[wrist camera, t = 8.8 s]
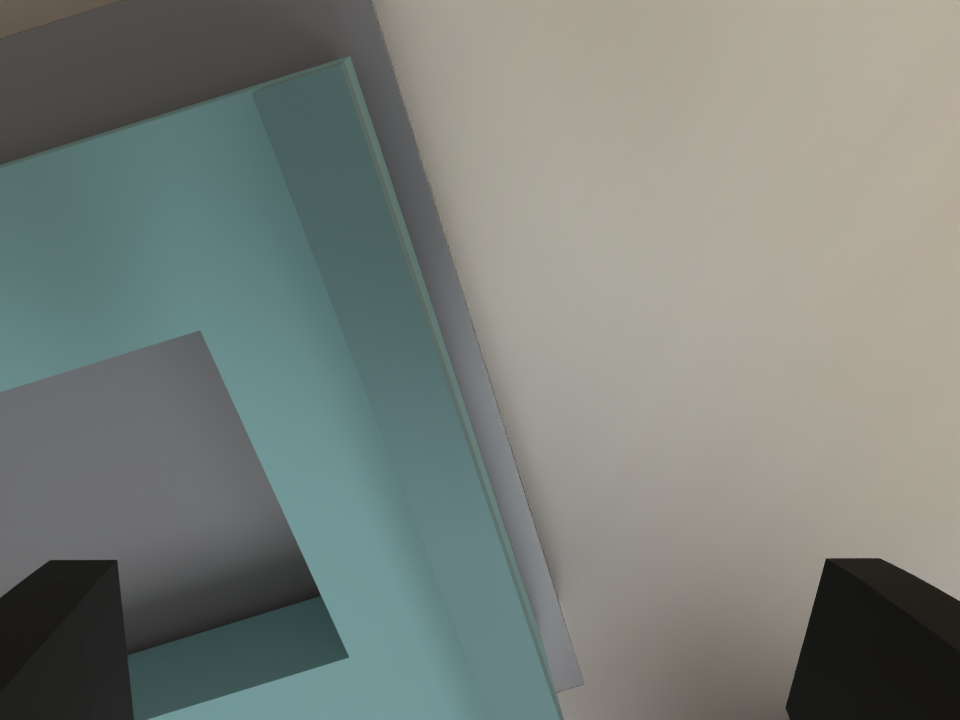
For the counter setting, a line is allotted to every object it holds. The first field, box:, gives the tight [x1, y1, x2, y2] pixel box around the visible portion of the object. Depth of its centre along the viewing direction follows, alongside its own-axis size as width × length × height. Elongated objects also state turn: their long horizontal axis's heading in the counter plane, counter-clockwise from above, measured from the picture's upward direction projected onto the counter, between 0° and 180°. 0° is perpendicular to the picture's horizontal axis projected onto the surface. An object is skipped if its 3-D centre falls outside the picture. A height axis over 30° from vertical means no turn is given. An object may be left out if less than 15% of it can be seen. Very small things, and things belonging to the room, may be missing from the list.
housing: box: [0, 0, 584, 693], centre depth 15 cm, size 14×18×2 cm
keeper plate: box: [0, 56, 563, 720], centre depth 12 cm, size 11×10×3 cm
